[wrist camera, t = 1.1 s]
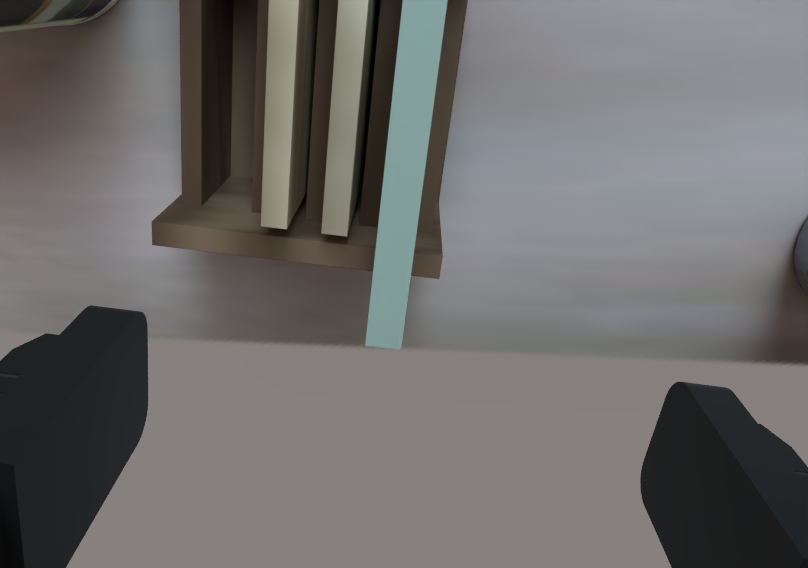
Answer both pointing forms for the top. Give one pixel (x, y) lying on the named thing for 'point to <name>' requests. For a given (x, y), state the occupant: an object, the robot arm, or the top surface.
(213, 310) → the top surface
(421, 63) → the tall sheet
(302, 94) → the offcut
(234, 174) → the rack
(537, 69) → the top surface
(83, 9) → the coffee can
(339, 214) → the board
